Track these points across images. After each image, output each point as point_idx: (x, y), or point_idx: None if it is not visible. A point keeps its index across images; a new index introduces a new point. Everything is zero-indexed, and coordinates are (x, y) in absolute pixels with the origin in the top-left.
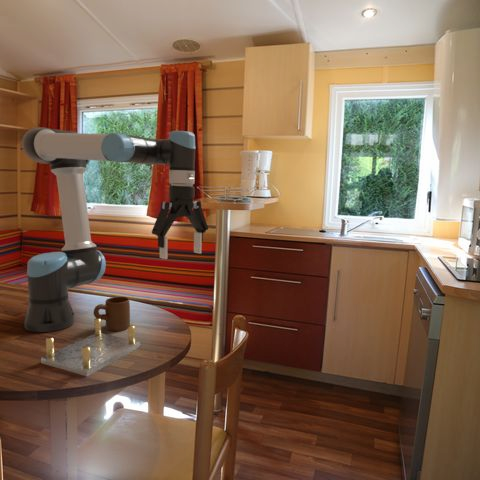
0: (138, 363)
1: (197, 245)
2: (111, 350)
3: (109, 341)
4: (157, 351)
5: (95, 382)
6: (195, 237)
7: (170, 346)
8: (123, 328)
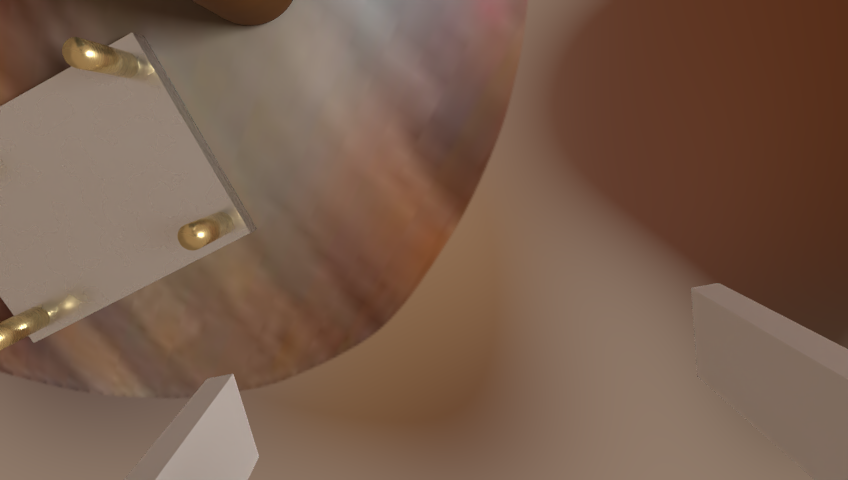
0: (207, 341)
1: (755, 387)
2: (137, 244)
3: (150, 160)
4: (294, 297)
5: (64, 379)
6: (845, 413)
7: (351, 286)
8: (254, 24)
